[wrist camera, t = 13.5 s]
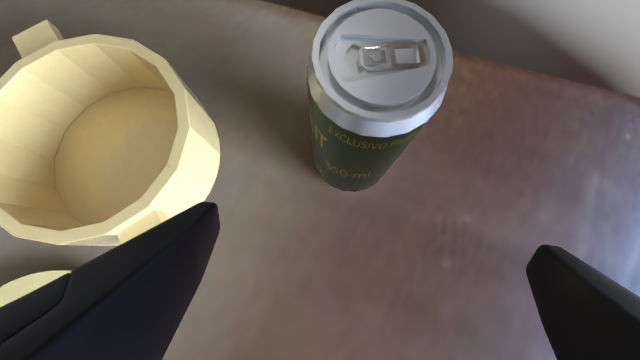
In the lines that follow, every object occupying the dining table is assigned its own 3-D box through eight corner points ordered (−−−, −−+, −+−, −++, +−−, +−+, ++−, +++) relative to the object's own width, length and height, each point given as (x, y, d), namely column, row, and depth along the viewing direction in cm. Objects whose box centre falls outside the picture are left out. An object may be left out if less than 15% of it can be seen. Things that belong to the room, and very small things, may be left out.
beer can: (382, 121, 23) (446, -14, 11) (390, 191, 22) (472, 121, 10) (311, 126, 23) (300, -6, 11) (316, 196, 21) (309, 131, 10)
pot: (154, 32, 25) (108, -28, 19) (272, 209, 21) (255, 195, 16) (11, 112, 23) (-82, 71, 18) (113, 316, 20) (35, 341, 14)
